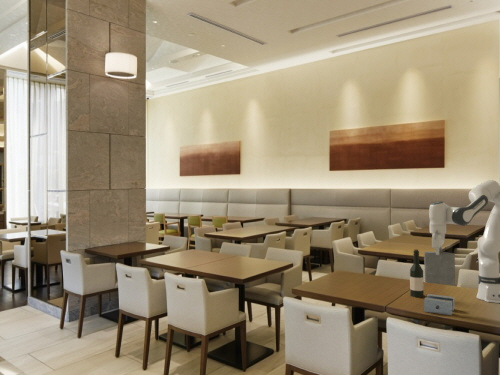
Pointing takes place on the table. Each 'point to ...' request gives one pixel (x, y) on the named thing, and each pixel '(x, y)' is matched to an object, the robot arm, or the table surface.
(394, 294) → the table surface
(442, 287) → the table surface
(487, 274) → the robot arm
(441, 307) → the vise
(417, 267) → the wine bottle
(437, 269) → the grey rectangular slab
